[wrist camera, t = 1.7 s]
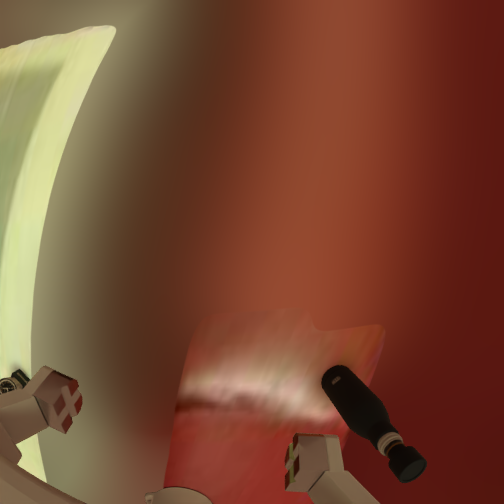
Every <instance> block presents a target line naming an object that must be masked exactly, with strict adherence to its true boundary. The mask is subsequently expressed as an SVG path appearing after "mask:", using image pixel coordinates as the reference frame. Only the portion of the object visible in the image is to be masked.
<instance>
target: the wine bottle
mask: <svg viewBox="0 0 504 504" xmlns="http://www.w3.org/2000/svg"><path fill="white" fill-rule="evenodd" d="M321 384H322V388H323V389H324V391H325V393H326V394H327V396H328V397H329V398H330V400H331V401H332V403H333V404H334V406H335V407H336V409H337V410H338V412H339V413H340V415H341V416H342V418H343V419H344V421H345V422H346V424H347V425H348V427H349V428H350V429H351V430H352V431H354V432H355V433H356V434H358V435H360V436H361V437H363V438H366V439H368V440H370V442H371V443H372V444H373V446H374V447H375V448H376V449H377V450H379V451H380V452H381V454H383V455H385V456H387V457H388V458H389V459H390V461H389V468H390V469H391V470H392V472H393V473H394V474H395V476H396V477H397V478H398V480H399V481H400V482H402V483H408V482H411V481H413V480H415V479H416V478H418V477H419V476H420V475H421V474H422V473H423V472H424V470H425V468H426V466H427V461H426V460H425V459H424V458H423V457H422V455H420V453H419V452H418V451H417V450H416V449H415V448H413V447H412V446H407V447H405V445H404V444H403V441H402V438H401V437H400V436H399V433H398V431H397V430H396V429H395V428H394V427H393V426H392V424H391V423H390V419H389V416H388V413H387V411H386V408H385V406H384V405H383V403H382V401H381V400H380V399H379V398H378V397H377V396H376V395H375V394H373V392H372V391H371V390H370V389H369V388H368V387H367V386H366V385H365V384H364V383H363V382H362V381H361V380H360V379H359V378H358V377H357V376H356V375H355V374H354V373H353V372H352V371H351V370H350V369H349V368H347V367H345V366H342V365H341V366H335V367H332V368H330V369H329V370H328V371H327V372H326V373H325V374H324V376H323V378H322V382H321Z"/></svg>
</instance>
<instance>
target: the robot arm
mask: <svg viewBox="0 0 504 504" xmlns="http://www.w3.org/2000/svg"><path fill="white" fill-rule="evenodd" d="M78 387H79V385H78V382H77V380H75V379H73V378H71V377H69V376H66V375H64V374H62V373H60V372H57V371H56V370H53V369H52V368H50V367H47V366H43V367H42V368H40V370H39V371H38V372H37V373H36V374H35V375H34V377H33V378H32V379H31V380H30V381H29V382H28V384H27V385H26V386H25V387H24V388H23V389H20V388H19V389H16V390H13V391H10V392H7V393H4V394H1V395H0V504H86V503H84V502H82V501H80V500H77V499H76V498H74V497H72V496H70V495H68V494H66V493H63V492H62V491H60V490H58V489H56V488H54V487H52V486H50V485H49V484H47V483H45V482H44V481H42V480H40V479H39V478H37V477H35V476H34V475H32V474H30V473H29V472H27V471H26V470H24V469H22V468H21V467H19V466H18V465H17V464H18V462H19V460H20V459H21V457H22V454H21V452H20V450H19V449H18V448H17V446H16V445H15V444H17V443H19V442H21V441H23V440H25V439H27V438H29V437H31V436H33V435H34V434H36V433H38V432H40V431H42V430H44V429H46V428H47V427H48V426H50V427H52V428H54V429H56V430H58V431H60V432H62V433H64V434H66V432H67V431H68V429H69V428H70V426H71V424H72V423H73V422H72V417H73V416H76V415H78V413H79V411H80V410H81V406H82V396H81V393H80V392H79V391H78V389H77V388H78ZM285 467H286V468H287V470H288V472H287V474H286V475H285V491H295V492H308V495H309V496H310V498H311V499H312V501H313V502H314V504H380V503H379V502H378V501H377V500H376V499H375V498H374V497H373V496H372V495H371V494H369V492H368V491H367V490H366V489H365V488H364V487H363V486H362V485H361V484H360V483H359V482H358V481H357V480H356V479H355V478H354V477H353V476H352V475H351V474H350V473H349V472H348V471H344V468H343V461H342V455H341V449H340V443H339V437H338V436H337V435H323V434H308V433H296V434H295V435H294V437H293V443H291V444H289V446H288V449H287V452H286V456H285ZM145 500H146V504H212V503H211V501H210V500H209V499H208V498H207V497H206V496H204V495H202V494H201V493H199V492H196V491H193V490H190V489H186V488H179V487H170V488H165V489H162V490H159V491H157V492H152V493H146V494H145Z"/></svg>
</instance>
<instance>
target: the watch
mask: <svg viewBox="0 0 504 504" xmlns="http://www.w3.org/2000/svg"><path fill="white" fill-rule="evenodd" d="M29 381H30V379H29V378H28V377H27V376H26V375H25V374H24V373H23V372H22V371H21V370H20V369H19V370H17V371H15V372H13V373H12V375H11V377H9V378H2V379H1V380H0V395H1V394H4V393H7V392H10V391H13V390H16V389H19V388H20V389H23V388H24V387H25V386H26V385H27V384H28V382H29Z"/></svg>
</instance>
